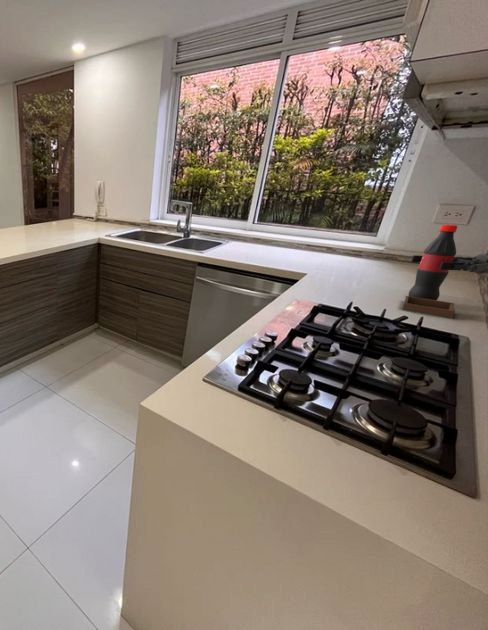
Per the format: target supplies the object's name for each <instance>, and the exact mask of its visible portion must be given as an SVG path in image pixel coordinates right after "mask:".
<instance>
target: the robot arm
mask: <svg viewBox="0 0 488 630" xmlns="http://www.w3.org/2000/svg"><path fill="white" fill-rule="evenodd" d="M422 257H423V255H420V254H419V255H418V254H415V255H414V254H412V258H411V260H410V263H418V264H420V262H421V260H422ZM439 270H449V271H464V272H470V273H475V274H479V275H480V274H483V275H486V274H487V275H488V253H486V252H485V253H483V252H482V253H478V254H477V255H475V256H474V257H473V256H472V257H471V256H466V257H465V256H454V259H453V261H452V262H441V265H440V267H439Z"/></svg>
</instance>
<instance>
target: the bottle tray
mask: <svg viewBox="0 0 488 630" xmlns="http://www.w3.org/2000/svg"><path fill="white" fill-rule="evenodd" d="M401 307H402V308H401V311H407V312H411V313H412V312H413V313H418V314H423V315H430V316H434V317H441V318H446V319H453V318H454V315H455V312H456V309H455V302H449V301H445V300H444V301H443V300H438V299H437V300H430V299H424V298H417V297H411V296H408V295H406V296H405V299H404V301H403V304H402V306H401Z"/></svg>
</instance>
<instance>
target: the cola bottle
mask: <svg viewBox="0 0 488 630" xmlns="http://www.w3.org/2000/svg"><path fill="white" fill-rule="evenodd" d="M457 230H458V225H457V224H456V225H455V224H443V225H441V227H440V229H439V234H438V236H437V237H436V238H434V240H432V241H431V242H430V243H429V244H428V246H426V248H425V249H424V250H423V254H422V256H423V257H422V260H421V262H420V263H419V265H418V268H417V269H416V275H415V282H414V284H413V286H412V287H411V288H410V289H409V290H408V295H407V296H411V297H417V298H424V299H430V300H437V301H438V299H439V297H440V295H441V291H440V289H441V286H442V284H443V283H444V281H445V279H446V278H447V276H448V275H449V271H450V270H439V267H440V265H441V262H452V261H453V259H454V257H456V255H457V247H456V242H455V238H454V237H455V233H456V232H457Z"/></svg>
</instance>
